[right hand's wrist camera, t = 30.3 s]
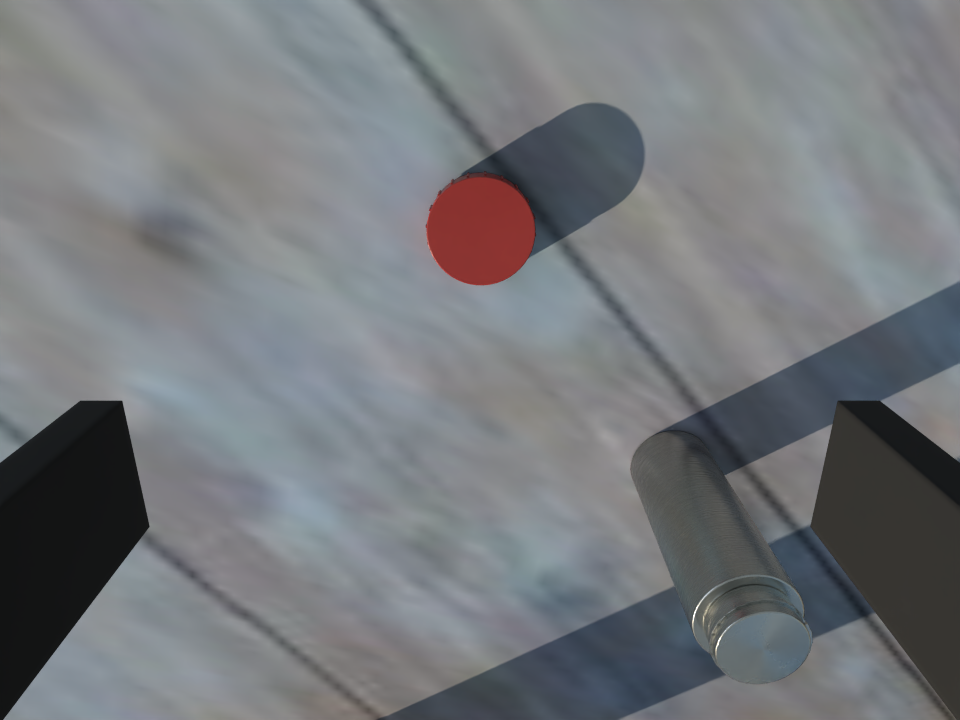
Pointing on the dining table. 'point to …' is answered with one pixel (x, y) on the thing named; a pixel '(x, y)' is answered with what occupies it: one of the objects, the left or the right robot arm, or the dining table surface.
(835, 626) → the dining table surface
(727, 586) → the bottle
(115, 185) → the dining table surface
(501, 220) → the lid
